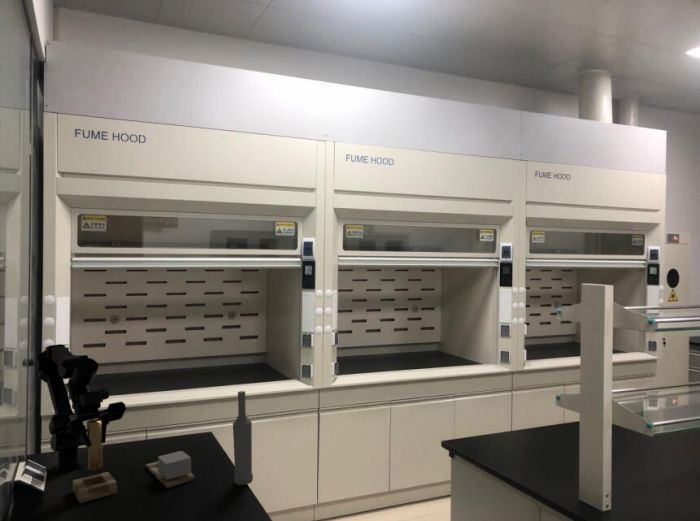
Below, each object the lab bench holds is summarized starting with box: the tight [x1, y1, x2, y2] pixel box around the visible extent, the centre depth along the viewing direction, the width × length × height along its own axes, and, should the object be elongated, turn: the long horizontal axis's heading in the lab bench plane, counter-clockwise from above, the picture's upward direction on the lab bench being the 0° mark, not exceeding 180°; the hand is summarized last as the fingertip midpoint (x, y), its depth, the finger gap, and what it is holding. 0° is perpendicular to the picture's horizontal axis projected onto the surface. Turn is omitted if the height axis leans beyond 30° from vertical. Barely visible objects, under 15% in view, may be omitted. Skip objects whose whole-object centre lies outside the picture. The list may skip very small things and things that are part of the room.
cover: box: [157, 450, 192, 480], centre depth 154 cm, size 7×7×4 cm
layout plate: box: [145, 461, 196, 489], centre depth 157 cm, size 18×8×1 cm, turn 38°
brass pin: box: [86, 419, 104, 471], centre depth 145 cm, size 4×4×12 cm
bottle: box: [232, 390, 254, 486], centre depth 150 cm, size 5×5×25 cm
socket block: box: [72, 471, 118, 504], centre depth 145 cm, size 9×9×3 cm
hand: (96, 444), depth 144 cm, fingers closed on brass pin, 4 cm apart
